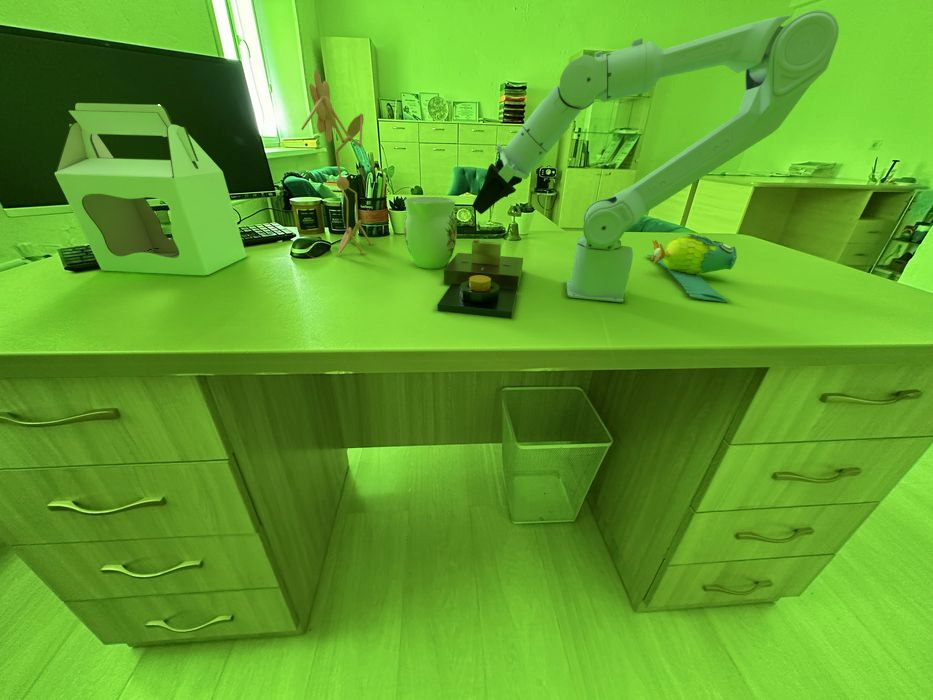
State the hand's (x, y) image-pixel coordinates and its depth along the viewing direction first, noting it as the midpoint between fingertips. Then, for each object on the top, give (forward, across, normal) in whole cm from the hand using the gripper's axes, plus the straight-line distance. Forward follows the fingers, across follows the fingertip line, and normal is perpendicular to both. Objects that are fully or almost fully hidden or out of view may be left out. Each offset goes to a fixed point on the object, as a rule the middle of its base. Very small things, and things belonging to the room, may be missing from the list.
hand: (480, 205), depth 66 cm
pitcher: (+19, -7, 0) cm, 20 cm away
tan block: (+8, -1, +8) cm, 11 cm away
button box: (+9, +13, +10) cm, 18 cm away
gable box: (+50, +9, -40) cm, 65 cm away
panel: (+10, 0, +10) cm, 14 cm away
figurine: (+35, -12, -19) cm, 41 cm away
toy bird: (-15, -13, +42) cm, 46 cm away
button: (+7, +12, +9) cm, 17 cm away
